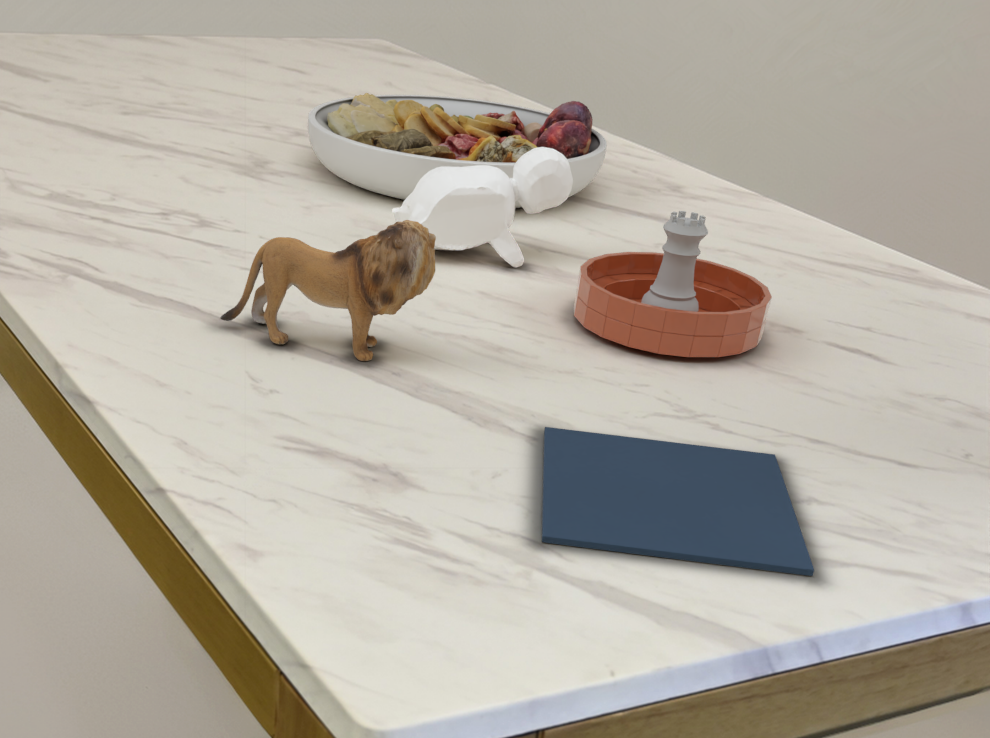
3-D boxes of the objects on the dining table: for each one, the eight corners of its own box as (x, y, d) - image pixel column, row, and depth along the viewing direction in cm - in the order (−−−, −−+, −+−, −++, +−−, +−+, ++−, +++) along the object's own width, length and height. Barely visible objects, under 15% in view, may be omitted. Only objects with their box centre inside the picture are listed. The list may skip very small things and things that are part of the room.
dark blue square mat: (773, 460, 77) (775, 454, 77) (812, 576, 65) (814, 569, 65) (544, 432, 78) (545, 426, 78) (541, 542, 66) (542, 536, 66)
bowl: (333, 215, 114) (338, 124, 110) (286, 137, 139) (288, 60, 134) (643, 222, 121) (659, 136, 116) (545, 145, 145) (555, 72, 141)
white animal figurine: (425, 301, 106) (596, 239, 105) (396, 204, 101) (575, 139, 100) (408, 268, 113) (568, 210, 112) (379, 176, 108) (546, 115, 107)
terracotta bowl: (746, 307, 101) (757, 263, 99) (771, 372, 89) (784, 323, 88) (572, 288, 102) (579, 243, 100) (573, 349, 90) (582, 300, 88)
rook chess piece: (632, 309, 97) (652, 204, 93) (690, 314, 97) (713, 210, 93) (641, 330, 94) (662, 221, 89) (701, 335, 94) (725, 227, 89)
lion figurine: (432, 343, 89) (445, 215, 84) (419, 371, 85) (433, 236, 80) (230, 315, 91) (232, 187, 86) (208, 340, 86) (208, 207, 81)
